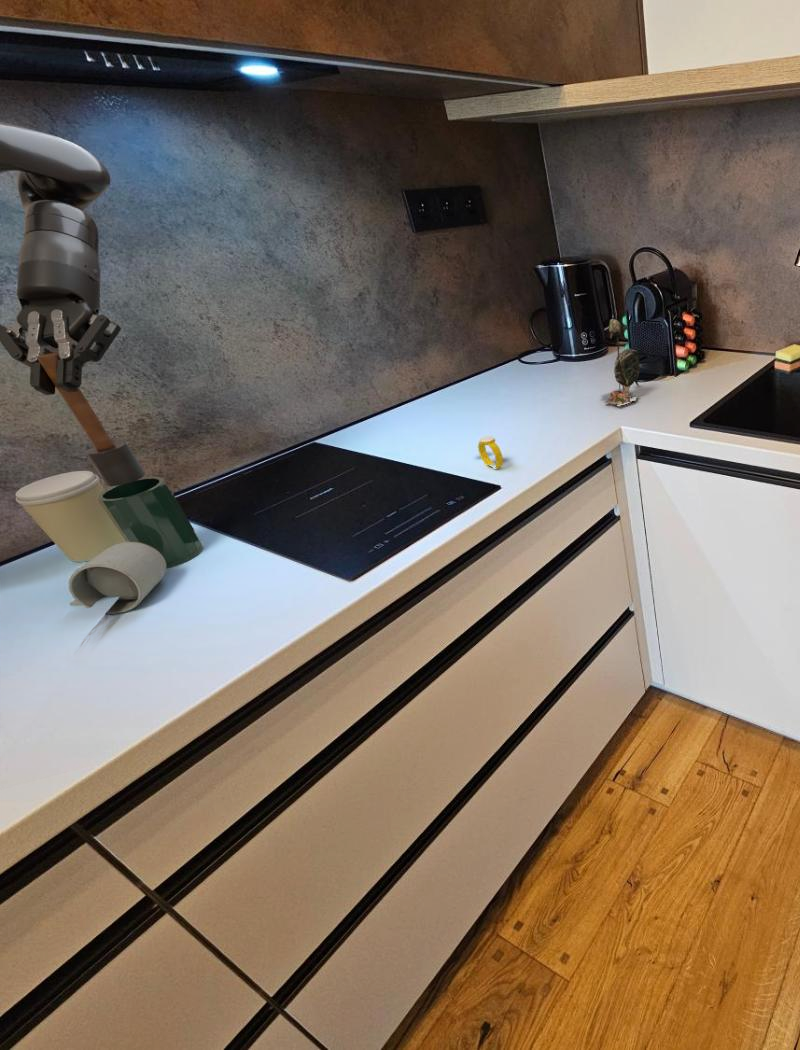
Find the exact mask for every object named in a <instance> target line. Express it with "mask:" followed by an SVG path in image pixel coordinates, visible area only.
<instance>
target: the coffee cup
mask: <svg viewBox="0 0 800 1050" xmlns="http://www.w3.org/2000/svg"><path fill="white" fill-rule="evenodd" d="M105 490H106V489H105V488H104V487H103V484H102V483H101V479H100V476H98V475H97V474H95V473H94V472H92V471H89V470H75V471H69V472H64V473H60V474H55V475H52V476H49V477H45V478H41V479H39V480H36V481H34V482H30V483H29V484H26V485H25V486H23V487H21V488H19V489H18V490H17V491H16V492H15V501H16V503H18V505H20V506H22V507H23V509H24V510H25V511H26V512H27V513H28V514H29V516H30V517H31V518H32V519H33V520H34V522H35V523H36V524H37V525H38V526H39V527H40V528H41V529H42V531H43V532H44V533H45V534H46V535H47V536H48V537H49V539H50V540H51V541H52V542H53V543H54V544H55V545H56V546H57V547H58V549H59V550H60V551H61V552H62V553H63V554H64V556H66V557H67V558H68V559H69V560H70V561H71V562H73V563H87V562H89V561H90V560H92V559H93V558H95V557H96V556H98V555H99V554H100V553H101V552H103V551H105V550H106V549H108V548H109V547H112V546H114V545H116V544H120V543H124V542H126V541H125V539H124V538H123V536H122V535H121V533H120V532H119V530H118V529H117V527H116V526H115V524H114V523H113V521H112V520H111V518H110V517H109V516H108V514H107V513H106V511H105V510H104V508H103V507H102V505H101V504H100V502H99V501H98V495H100V494H101V493H102V492H103V491H105Z"/></svg>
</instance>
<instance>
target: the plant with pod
mask: <svg viewBox="0 0 800 1050" xmlns="http://www.w3.org/2000/svg"><path fill="white" fill-rule="evenodd" d="M621 332H622V331H621V323H620V321H619V320H618V319H615V318H611V319H609V323H608V333H610V334H609V339H612V338H613V336H614V337H615V339H616V348H617V349H616V350H617V356H616V358H615V361H614V369H613V373H614V379H615V381H616V383H618V389H619V390H613V391H611V392H610V396H609V397H607V398H606V399H604V402H605V401H606V402H605V403H604V404H609V405H612V406H616V405H620V404H624V403H627V402H631V401H630V397H629V396H630V393H629V390H630V388H631V386H632V385H633V384H634V383H635V384H636V386H637V387H639V386H640V385H639V383H638V379H639V375H640V373H641V372H640V368H641V366H640V360H639V359H640V358H639V352H638V351H637V350H635V348H634V349H633V348H625V350H623V351H622V352H620V344H619V336H620V334H621ZM621 386H622V390H621Z"/></svg>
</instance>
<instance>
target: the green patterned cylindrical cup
mask: <svg viewBox="0 0 800 1050" xmlns="http://www.w3.org/2000/svg"><path fill="white" fill-rule="evenodd" d="M104 490H105V491H103V492H102V493H101V494H100V495H98V501H99V502H100V504H101V505H102V507H103V508H104V510H105V511H106V513H107V514H108V516H109V517H110V518H111V520H112V521H113V523H114V524H115V526H116V527H117V529H118V530H119V532H120V533H121V535H122V536H123V538H124V539H125V541H126V542H140V543H144V544H146V545H149V546H151V547H153V548H155V549H156V550H158V551H159V552H160V553H161V554H162V556H163V557H164V559H165V561H166V569H169V568H173V567H176V566H179V565H182V564H184V563H187V562H188V561H190V560H192V559H194V558H195V557H198V556H199V555H200V554H201V553H202V552H203V550H204V549H205V548H204V544H203V543H202V540H201V539H200V537H199V535H198V533H197V532H196V530H195V528H194V526H193V525H192V524H191V522H190V520H189V518H188V517H187V515H186V513H185V511H184V509H183V508H182V506H181V505H180V503H179V502H178V500H177V498H176V497H175V494H174V493H173V491H172V490H171V488H170V486H169V485H168V483H167V481H166V480H165V478H164V477H160V476H148V477H147V476H146V477H142V478H140V479H138V480H136V481H133V482H130V483H127V484H123V485H118V486H110V488H107V489H104Z"/></svg>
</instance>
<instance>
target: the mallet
mask: <svg viewBox="0 0 800 1050" xmlns="http://www.w3.org/2000/svg"><path fill="white" fill-rule="evenodd" d="M36 357H37V359H38V360H39V362H40V363H41V365H42V367H43V368H44V370H45V371H46V373H47V374H48V376H49V377H50V379H51V380H52V382H53V384H54V385H55V389H56V390H57V391H58V393H59V395H60V396H61V398H62V399H63V401H64V402H65V404H66V405H67V407H68V408H69V410H70V411H71V413H72V415H73V416H74V418H75V419H76V421H77V422H78V424H79V426H80V427H81V428H82V430H83V431H84V433H85V434H86V436H87V437H88V439H89V441H90V442H91V444H92V445H93V447H91V448H88V449H87V450H86V451H85V455H86V456H87V458H88V459H89V462H90V463H91V464H92V466H93V467H94V469H95V470H96V471H97V473H98V475H99V477H100V478H101V479H102V481H103V482H104V484H105V485H106V486H107V487H113V486H118V485H123V484H127V483H130V482H133V481H136V480H138V479H140V478H144V477H145V475H146V473H145V471H144V470H143V468H142V466H141V465H140V463H139V462H138V460H137V458H136V456H135V455H134V453H133V451H132V450H131V449H130V447H129V445H128V444H127V442H126V441H122V440H121V441H113V440H112V438H111V436H110V435H109V433H108V431H107V430H106V429H105V427H104V425H103V424H102V422H101V420H100V419H99V417H98V416H97V414H96V413H95V411H94V409H93V408H92V406H91V405H90V403H89V402H88V400H87V398H86V396H85V395H84V393H83V392H82V390H81V389H80V387H78V391H77V392H67V391H65V390H63V389H62V388H60V387H58V385H57V383H56V380H57V360H62V358H60V357H59V355H58V354H57V353H48V354H43V353H42V355H39V356H36Z"/></svg>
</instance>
